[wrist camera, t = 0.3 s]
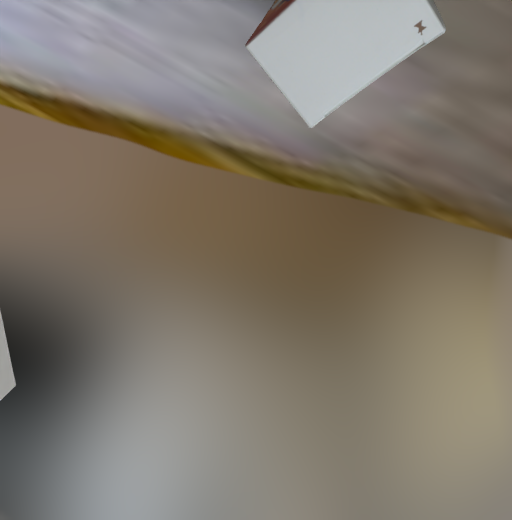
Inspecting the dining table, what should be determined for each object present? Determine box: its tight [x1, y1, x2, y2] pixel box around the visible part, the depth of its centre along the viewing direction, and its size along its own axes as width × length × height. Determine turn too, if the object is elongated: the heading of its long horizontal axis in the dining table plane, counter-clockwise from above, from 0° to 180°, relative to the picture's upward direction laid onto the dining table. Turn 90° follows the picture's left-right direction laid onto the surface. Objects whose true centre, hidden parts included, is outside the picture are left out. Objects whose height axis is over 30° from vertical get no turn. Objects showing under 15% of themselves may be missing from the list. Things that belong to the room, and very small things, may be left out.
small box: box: [245, 0, 446, 128], centre depth 26 cm, size 8×6×10 cm
